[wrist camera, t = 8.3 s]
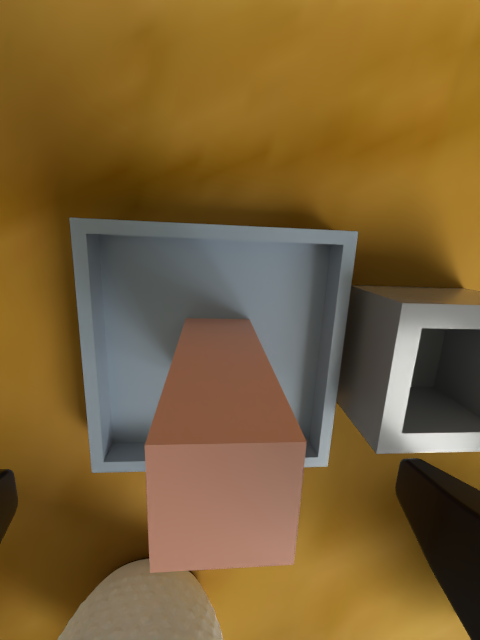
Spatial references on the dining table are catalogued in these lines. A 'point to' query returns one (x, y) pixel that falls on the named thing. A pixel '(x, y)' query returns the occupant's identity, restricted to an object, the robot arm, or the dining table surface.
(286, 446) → the peg
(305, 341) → the tray
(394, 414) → the hollow square socket
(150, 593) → the mug
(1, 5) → the dining table surface
